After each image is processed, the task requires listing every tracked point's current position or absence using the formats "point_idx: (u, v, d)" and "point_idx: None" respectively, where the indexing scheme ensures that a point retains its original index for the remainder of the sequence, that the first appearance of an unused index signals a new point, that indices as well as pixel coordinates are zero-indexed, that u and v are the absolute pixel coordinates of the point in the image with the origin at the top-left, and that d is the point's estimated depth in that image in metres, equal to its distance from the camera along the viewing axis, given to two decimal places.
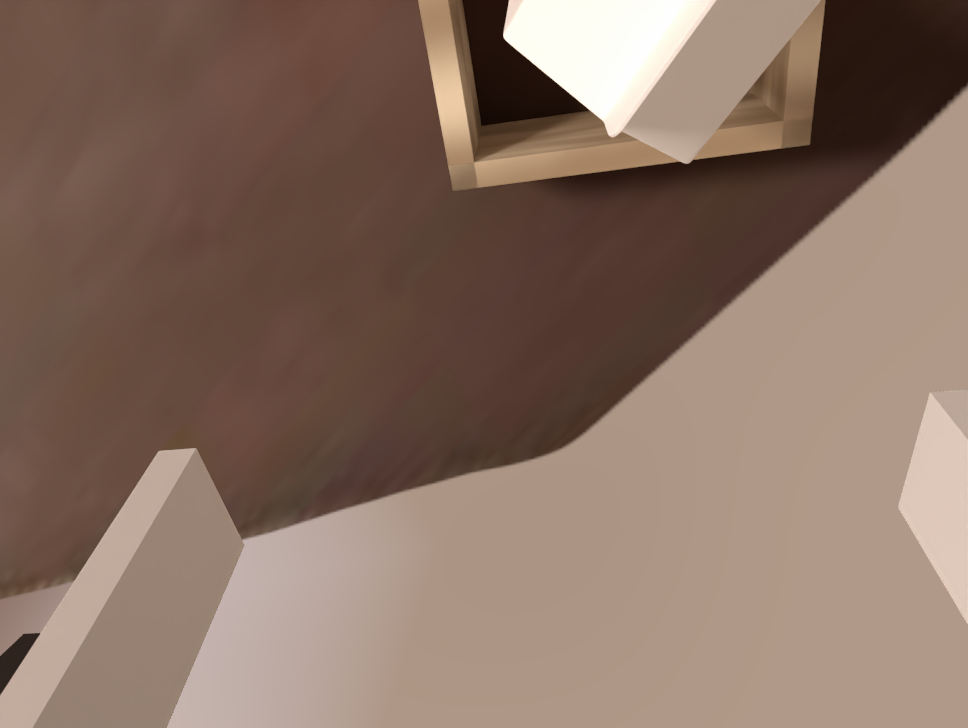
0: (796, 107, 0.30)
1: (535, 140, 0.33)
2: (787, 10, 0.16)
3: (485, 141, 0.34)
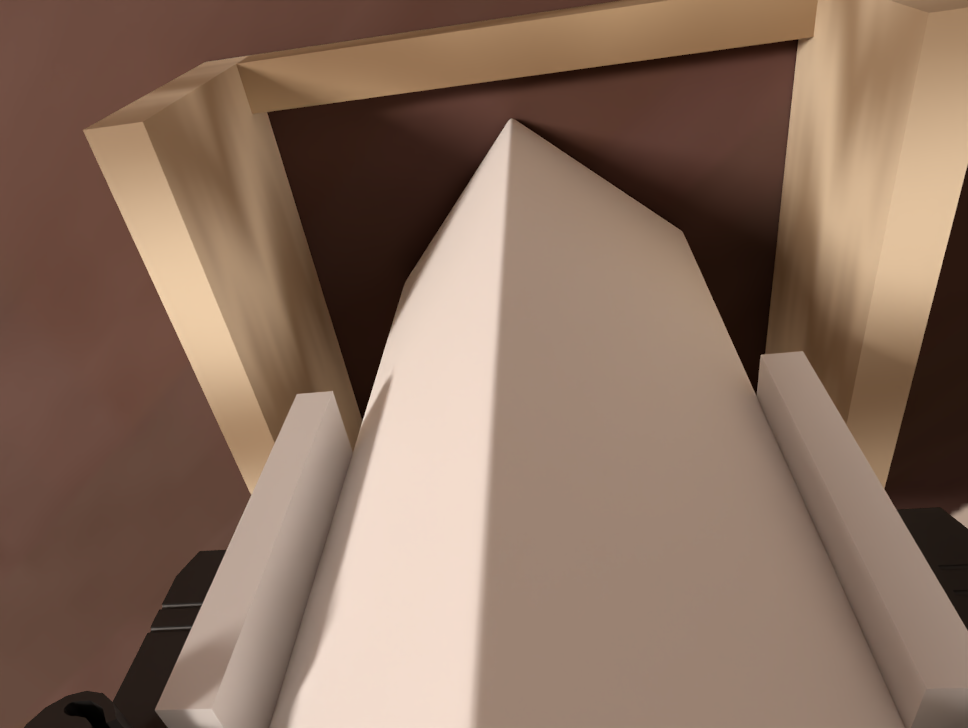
0: None
1: None
2: None
3: None
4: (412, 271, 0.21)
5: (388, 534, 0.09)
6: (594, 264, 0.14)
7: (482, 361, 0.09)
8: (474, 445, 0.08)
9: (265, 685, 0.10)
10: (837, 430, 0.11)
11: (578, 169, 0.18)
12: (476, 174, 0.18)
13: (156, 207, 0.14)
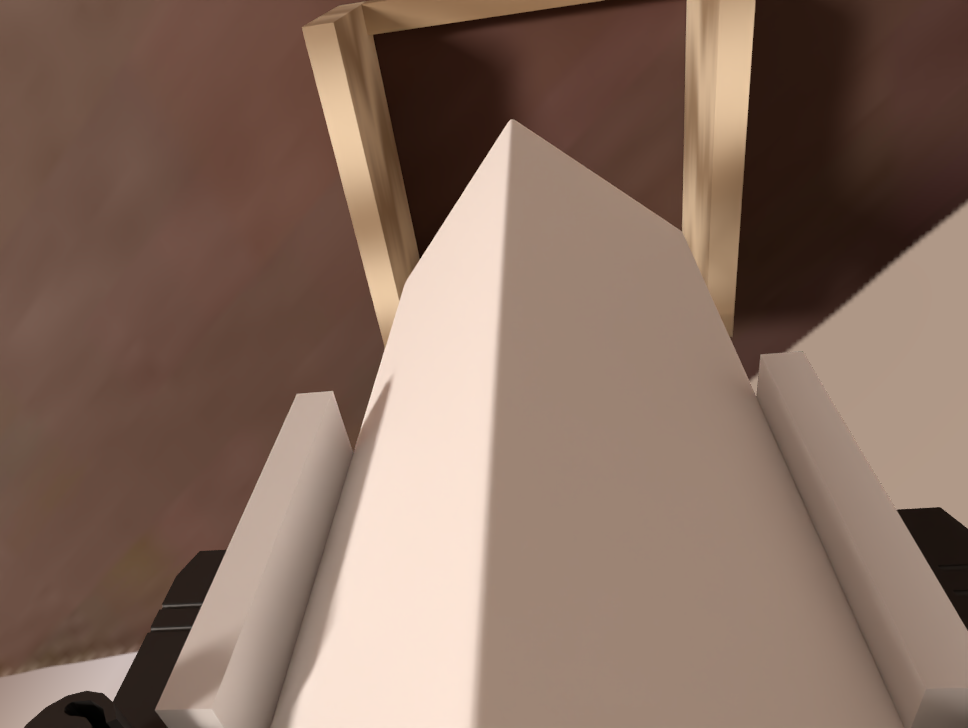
0: (717, 305, 0.31)
1: None
2: None
3: None
4: (412, 271, 0.21)
5: (389, 533, 0.09)
6: (595, 265, 0.14)
7: (482, 361, 0.09)
8: (475, 444, 0.08)
9: (265, 685, 0.10)
10: (837, 430, 0.11)
11: (578, 169, 0.18)
12: (476, 174, 0.19)
13: (333, 71, 0.26)
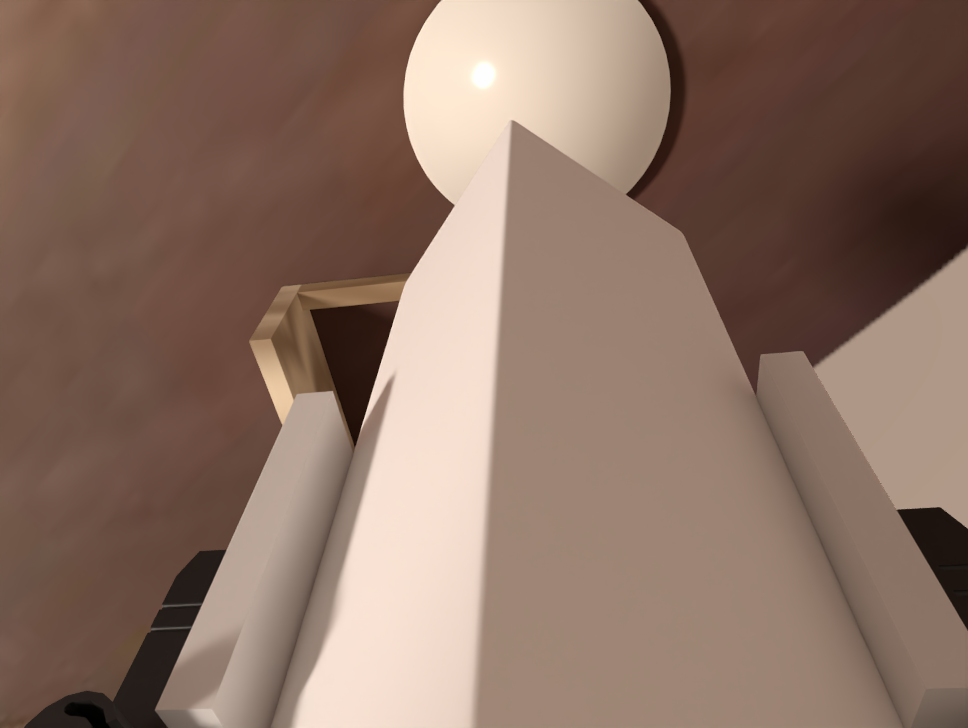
0: None
1: None
2: None
3: None
4: (412, 272, 0.21)
5: (389, 536, 0.09)
6: (595, 267, 0.14)
7: (482, 363, 0.09)
8: (475, 448, 0.08)
9: (265, 685, 0.10)
10: (837, 430, 0.11)
11: (578, 171, 0.18)
12: (476, 176, 0.19)
13: (272, 364, 0.37)
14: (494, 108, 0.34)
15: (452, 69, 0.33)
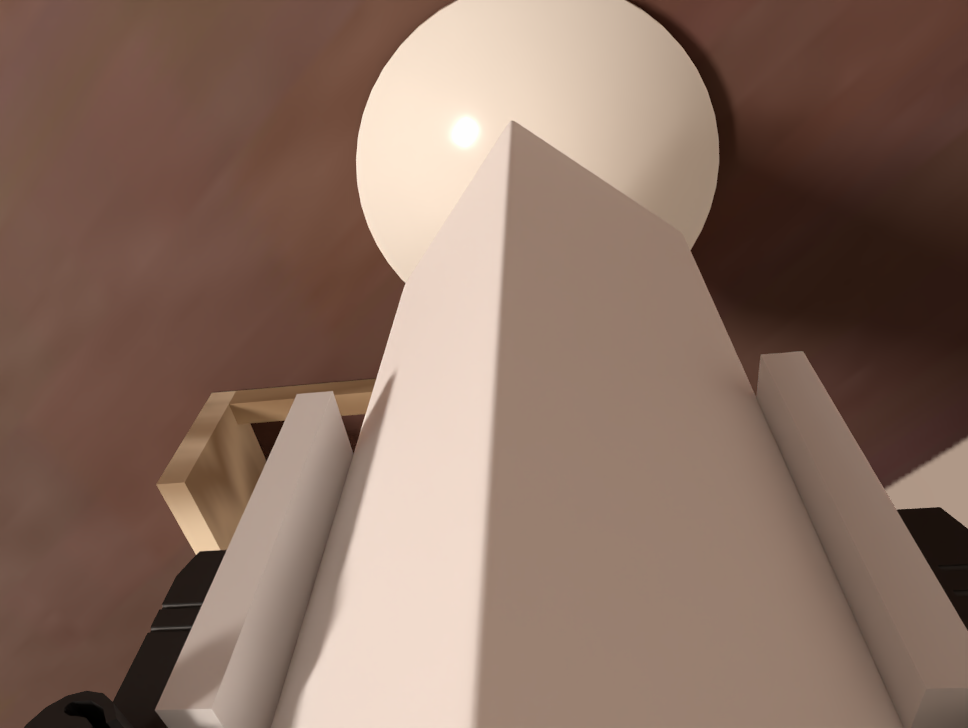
0: None
1: None
2: None
3: None
4: (412, 273, 0.21)
5: (389, 537, 0.09)
6: (595, 267, 0.14)
7: (482, 364, 0.09)
8: (475, 449, 0.08)
9: (265, 685, 0.10)
10: (837, 430, 0.11)
11: (578, 171, 0.18)
12: (476, 176, 0.19)
13: (189, 511, 0.28)
14: None
15: (420, 133, 0.24)
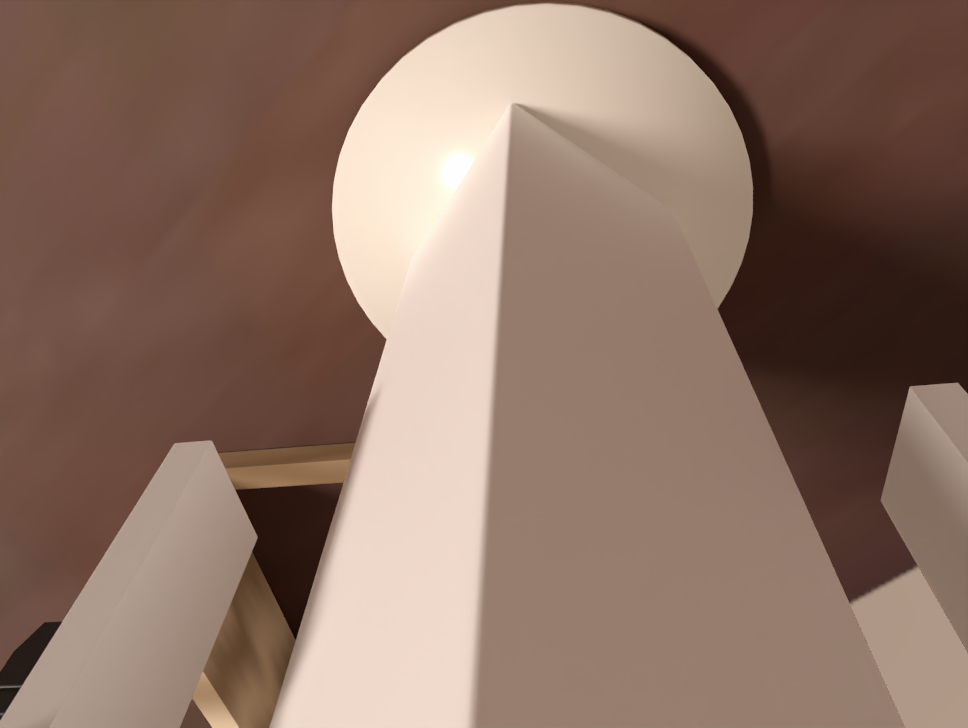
0: None
1: None
2: None
3: None
4: (418, 249, 0.22)
5: (403, 459, 0.10)
6: (588, 233, 0.15)
7: (485, 305, 0.11)
8: (480, 370, 0.09)
9: None
10: None
11: (574, 150, 0.19)
12: (478, 155, 0.20)
13: None
14: None
15: (406, 178, 0.21)
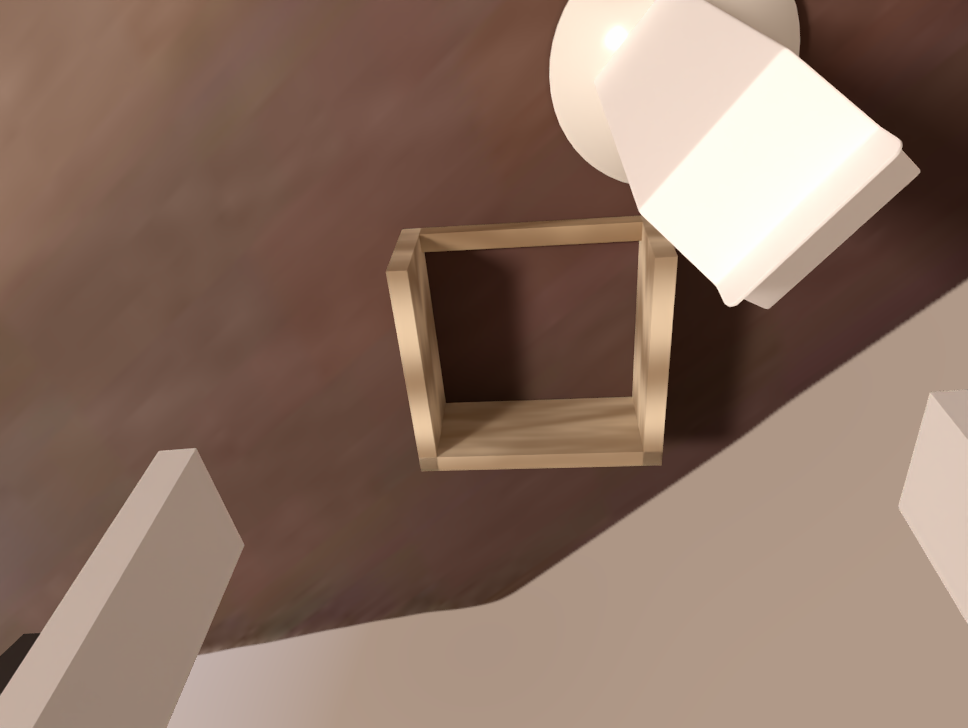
0: (651, 445, 0.45)
1: (480, 436, 0.48)
2: (860, 212, 0.21)
3: (446, 428, 0.49)
4: (600, 72, 0.37)
5: (678, 76, 0.25)
6: None
7: (714, 16, 0.26)
8: (725, 23, 0.24)
9: None
10: None
11: None
12: (649, 10, 0.35)
13: (403, 296, 0.40)
14: None
15: (600, 26, 0.36)
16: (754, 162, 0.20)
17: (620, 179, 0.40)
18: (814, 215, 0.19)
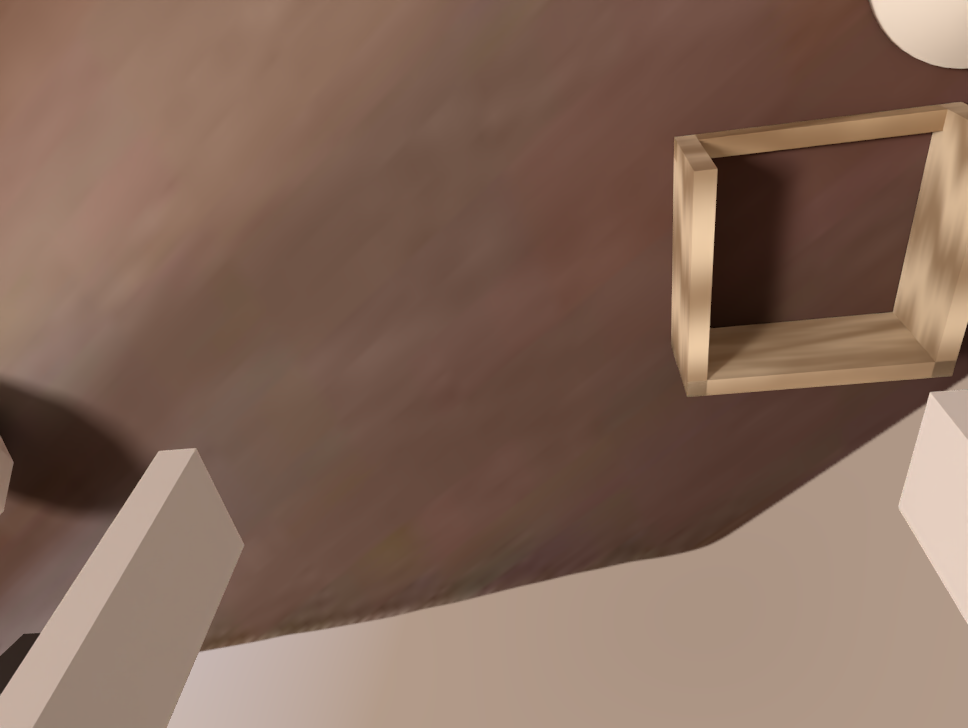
0: (945, 354, 0.42)
1: (744, 358, 0.45)
2: None
3: None
4: None
5: None
6: None
7: None
8: None
9: None
10: None
11: None
12: None
13: (708, 198, 0.37)
14: None
15: None
16: None
17: (930, 62, 0.38)
18: None
